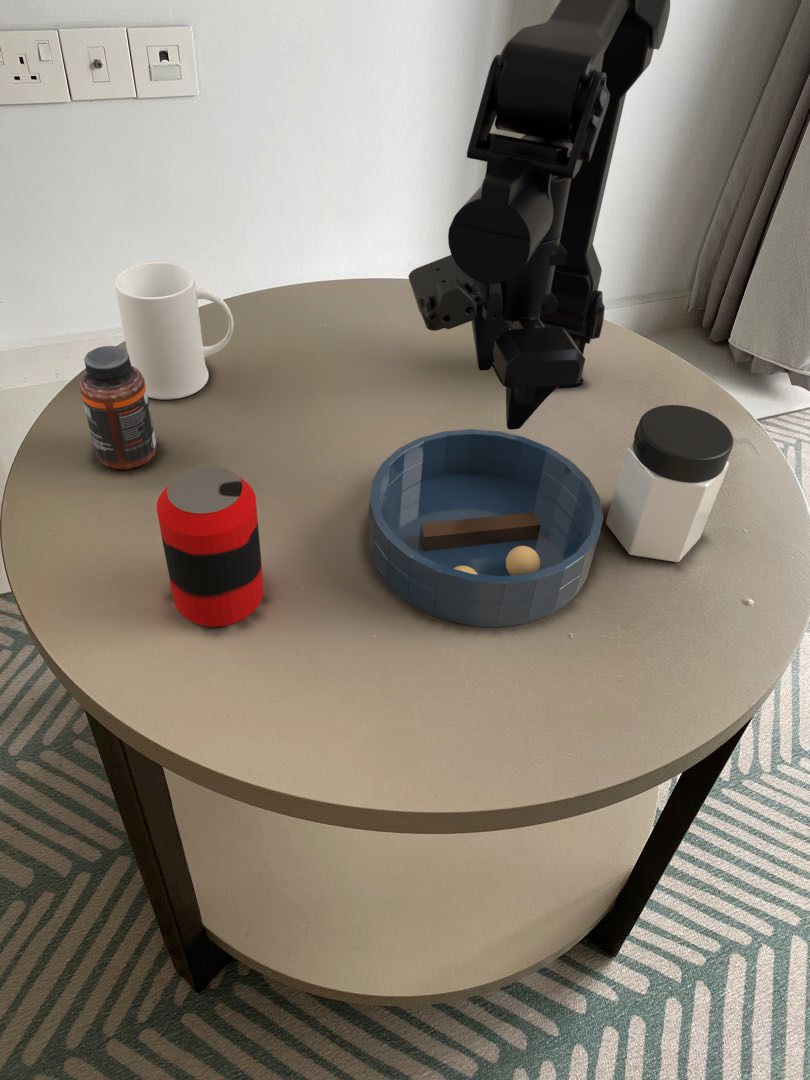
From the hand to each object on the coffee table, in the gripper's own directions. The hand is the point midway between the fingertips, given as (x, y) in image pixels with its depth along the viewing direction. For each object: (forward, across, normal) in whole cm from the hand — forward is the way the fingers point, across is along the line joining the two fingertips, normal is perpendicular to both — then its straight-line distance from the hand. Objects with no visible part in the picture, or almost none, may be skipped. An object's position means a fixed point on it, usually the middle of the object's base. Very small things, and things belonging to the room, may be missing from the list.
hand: (498, 397), depth 77 cm
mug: (+12, -25, -28) cm, 39 cm away
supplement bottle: (+12, -12, -34) cm, 38 cm away
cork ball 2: (+10, +11, 0) cm, 15 cm away
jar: (+12, +7, +15) cm, 21 cm away
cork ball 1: (+10, +13, -6) cm, 17 cm away
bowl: (+12, +6, -2) cm, 14 cm away
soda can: (+12, +9, -26) cm, 30 cm away
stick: (+11, +6, -2) cm, 13 cm away
